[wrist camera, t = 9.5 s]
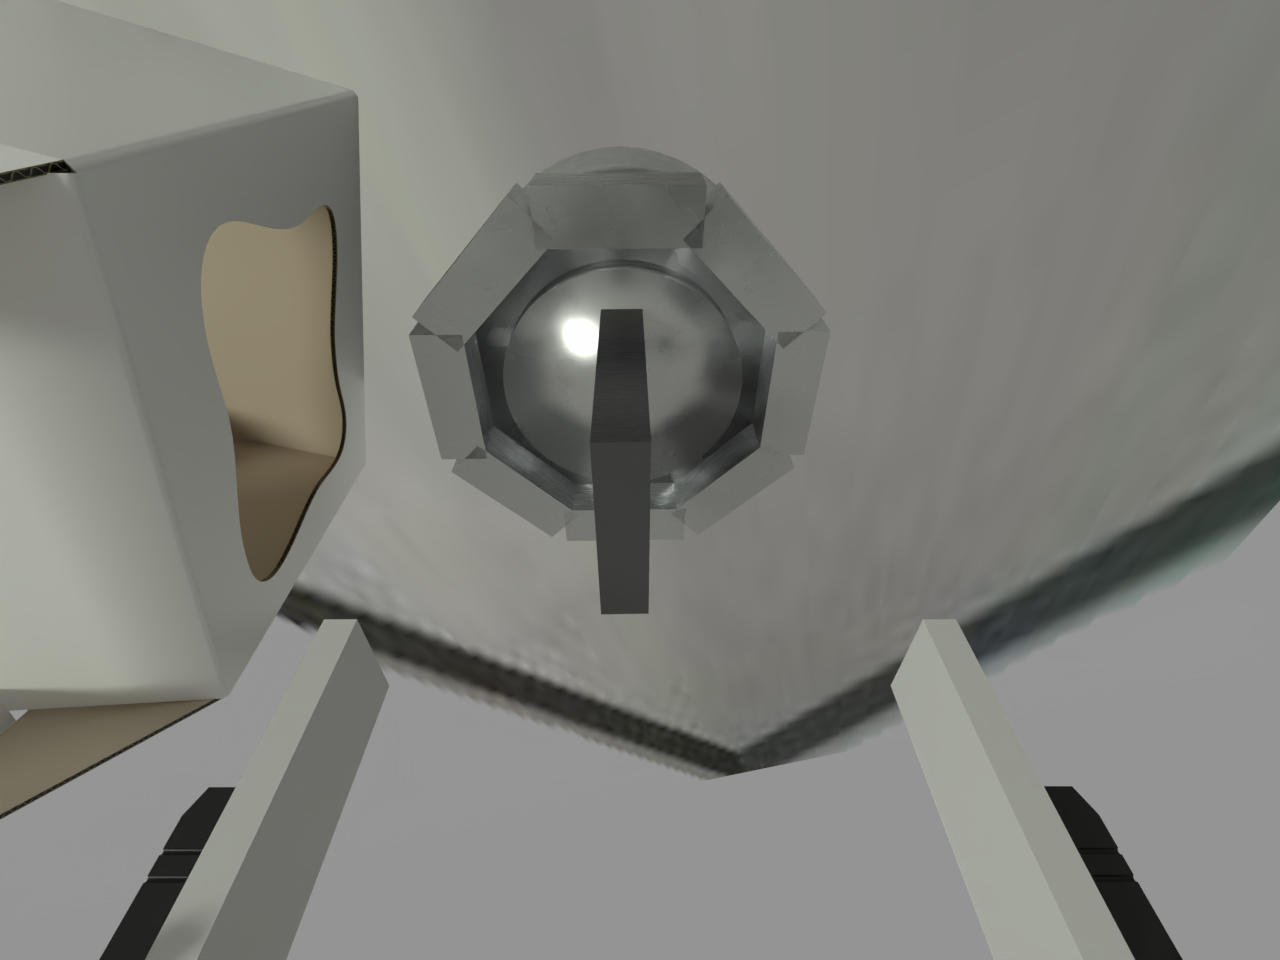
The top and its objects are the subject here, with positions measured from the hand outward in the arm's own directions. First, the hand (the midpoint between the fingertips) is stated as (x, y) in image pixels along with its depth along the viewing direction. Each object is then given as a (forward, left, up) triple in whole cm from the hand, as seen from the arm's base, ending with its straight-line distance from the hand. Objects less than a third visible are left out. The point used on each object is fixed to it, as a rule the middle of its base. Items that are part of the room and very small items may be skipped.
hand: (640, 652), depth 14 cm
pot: (0, +3, -23) cm, 23 cm away
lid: (0, 0, -14) cm, 14 cm away
